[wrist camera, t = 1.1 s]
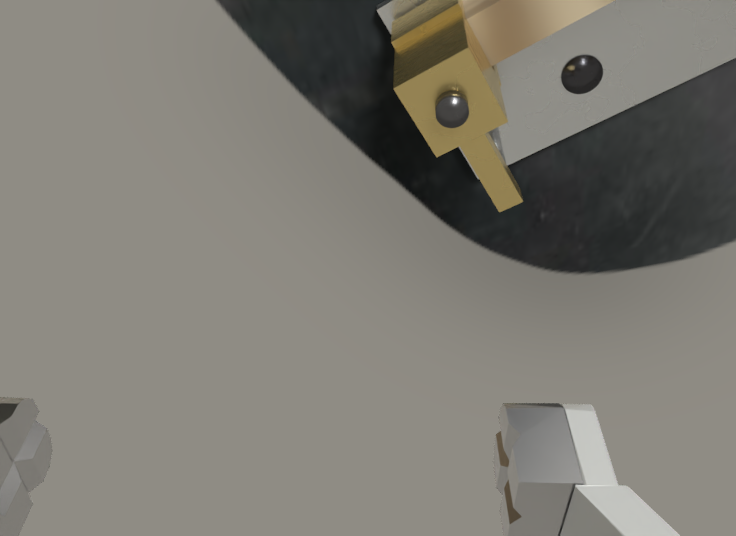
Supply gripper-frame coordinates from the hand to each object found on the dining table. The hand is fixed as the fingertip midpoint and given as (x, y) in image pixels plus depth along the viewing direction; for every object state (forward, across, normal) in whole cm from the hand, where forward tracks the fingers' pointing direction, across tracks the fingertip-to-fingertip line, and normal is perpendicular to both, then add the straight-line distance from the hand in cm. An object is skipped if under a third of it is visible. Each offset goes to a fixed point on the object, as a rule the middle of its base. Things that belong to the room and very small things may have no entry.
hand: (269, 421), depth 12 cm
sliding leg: (+32, -7, +7) cm, 33 cm away
